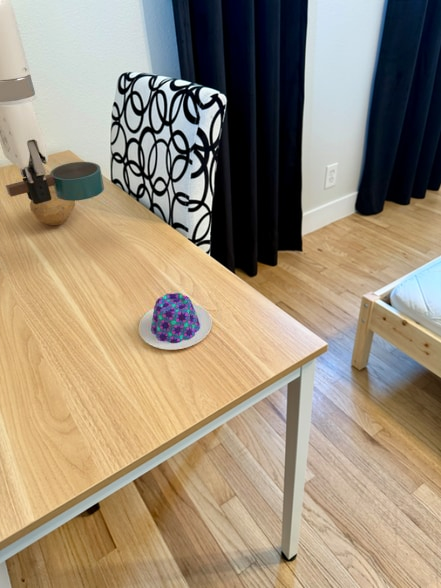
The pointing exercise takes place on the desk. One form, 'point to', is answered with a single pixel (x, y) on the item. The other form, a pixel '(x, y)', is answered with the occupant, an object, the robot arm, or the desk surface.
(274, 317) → the desk surface
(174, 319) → the pudding
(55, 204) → the potato
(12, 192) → the pan
